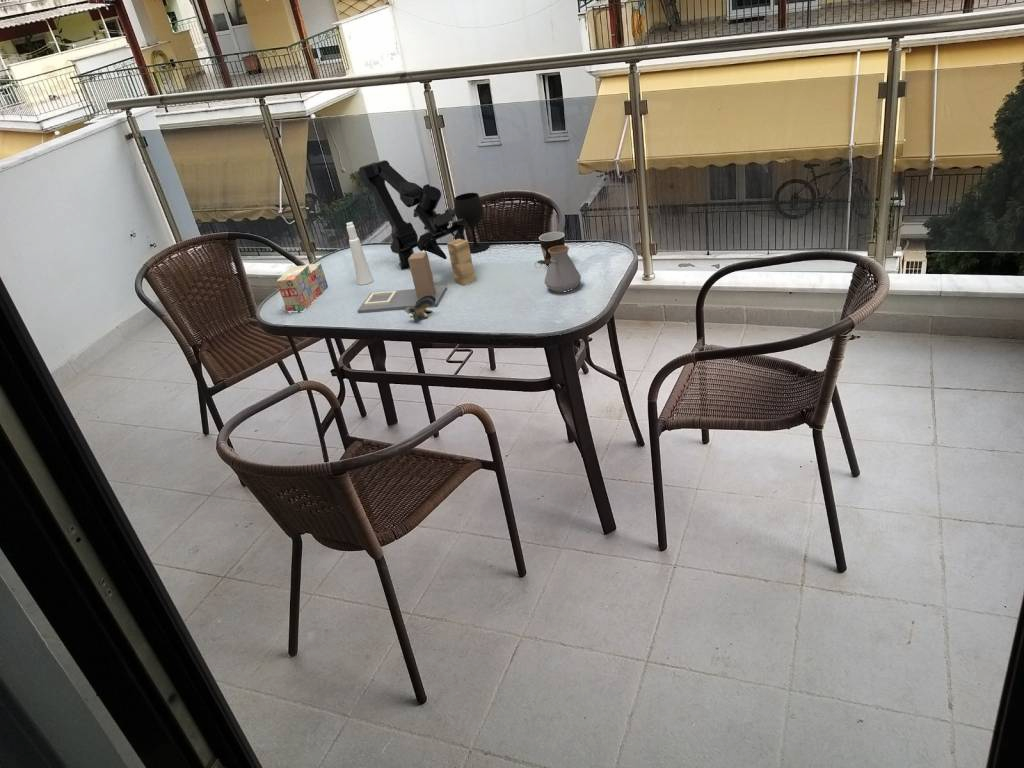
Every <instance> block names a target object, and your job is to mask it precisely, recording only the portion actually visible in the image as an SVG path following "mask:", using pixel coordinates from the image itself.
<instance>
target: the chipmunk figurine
mask: <svg viewBox="0 0 1024 768" xmlns="http://www.w3.org/2000/svg"><path fill="white" fill-rule="evenodd" d="M435 301H436V299H435V297H433V296H432V295H431V296H430V295H428V296H424V297H423V298H421V299H420V300H418V301H417V302H416V304H415V308H412V307H408V308H406V309H404V312H405V313H406V314H411V315H410V316H409V318H413V320H414V321H413V322H414V324H415V323H417V321H418V317H419V316H421V317H425V318H427V319H429V315H428V314H427V313H426V312H434V311H433V310H429V309H428V308H431V307H430V306H431V305H434V304H435Z"/></svg>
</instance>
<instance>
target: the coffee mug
mask: <svg viewBox="0 0 1024 768" xmlns="http://www.w3.org/2000/svg"><path fill="white" fill-rule="evenodd" d="M538 239H539V240H538V241H539V246H540V248H541V252H542V256H543V260H549V261H550V259H551V255H550V253H549V252H548V249H549V248H552V247H555V246H562V245H563V246H566V245H565V243H566V242H565V233H564V232H561V231H552V232H551V231H550V232H546V233H543V234H541V235H540V236H539V237H538ZM546 265H547V266H549V264H545V266H546ZM547 266H546V267H547Z"/></svg>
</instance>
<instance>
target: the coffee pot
mask: <svg viewBox="0 0 1024 768" xmlns="http://www.w3.org/2000/svg"><path fill="white" fill-rule="evenodd" d="M569 250H570V247H569V246H568V245H565V246H563V245H562V246H555V247H552V248H549V249H548V252H549V253H550V255H551V259H550V261H549V260H544V259H540V260H537V261H536V262H535V264H540V266H539V267H537V266H536V265H534V268H536V269H539V268H541V267H542V265H546V264H549V266H548V267H547V271H546V273H545V277H544V284H545V286H546V287H547V288H548V289H550V290H551V291H552V290H553V291H552V292H554V291H556V292H555V293H558V292H562V293H565V292H564V291H568V290H571V289H573V290H574V289H576V287H577V286H578V285H579V284H580V282H581V279H582V277H581V276H582V275H581V274H580V272H579V271H578V268H577V267H576V266H575V264H574V263H573V261H572V259H571V257H570V256H569V255H568V253H569ZM571 291H572V290H571ZM568 292H569V291H568Z"/></svg>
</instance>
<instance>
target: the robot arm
mask: <svg viewBox="0 0 1024 768" xmlns="http://www.w3.org/2000/svg"><path fill="white" fill-rule="evenodd" d="M358 177H359V179H360V180H361V183H363V185H364V187H366V188H368V189H369V190H371V192H372V193H373V194H374V196H375V198H376V200H377V202H378V203H379V206H380V207H381V210H382V211H383V214H384V215H385V217H386V219H387V221H388V223H389V224H390V227H391V233H390V234H391V235H390V236H391V239H392V242H391V244H390V247H389V248H390V249H391V252H392V253H393V254H394V253H395V254H398V259H399V263H398V264H399V265H398V266H399V267H400V269H401V270H405V269H406V270H407V269H410V266H409V261H408V259H409V257H410V256H411V255H412V254H414V253H415V252H414V248H417V250H419V252H427V253H430V254H432V255H435V256H437V257H439V258H442V259H443V260H447V256H446V253H445V252H444V251H443V250H442V248H441V247H440V245H439V244H438V242H437V240H439V239H441V238H444V237H446V236H448V235H452V236H454V237H453V239H454V240H457V239H463V240H466V238H465V237H466V236H465V229H466V228H467V227H466V225H467V223H466V221H465V220H464V219H459V220H458V219H456V220H455V221H454V217H456V214H455V210H454V209H452V208H451V207H450V208H447V209H446V210H444V212H443V213H437V211H436V208H437V206H438V204H439V203H440V200H441V197H442V192H441V190H440V189H438V188H437V187H435V186H432V185H431V184H429V183H426V184H424V185H423V186H422V187H421V186H420V185H418V183H415V182H410V181H408V180H407V179H406V178H404V176H402V175H401V174H400V173H399V172H398V171H397V170H395V169H394V167H393V166H392V165H390V162H389V161H388V160H384V159H383V160H380V161H378V162H377V161H375V162H371V163H368V164H365V165H362V166H360V167H359V171H358ZM385 182H387V184H389V185H390V186H391V188H393V189H394V190H395V192H397V193H398V195H399V199H400V201H401V202H402V203H403V204H404V205H405V206H406V207H407V208H413V207H415V208H414V209H413V218H417V217H418V219H419V220H420V222H422V224H423V225H424V227H423V229H424V231H428V232H426V233H424V234H423V233H422V234H421V235H420V236H419V238H418V233H417V231H416V230H415V228H414V227H413V224H412V223H411V222H407V221H405V220H404V219H403V217H402V215H401V213H400V210H399V209H398V207H397V205H396V203H395V201H394V200H393V197H392V195H391V193H390V192H389V190H388V188H387V186H386V183H385ZM451 221H453V223H452V225H451V226H450V222H451ZM449 226H450V227H449Z"/></svg>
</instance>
